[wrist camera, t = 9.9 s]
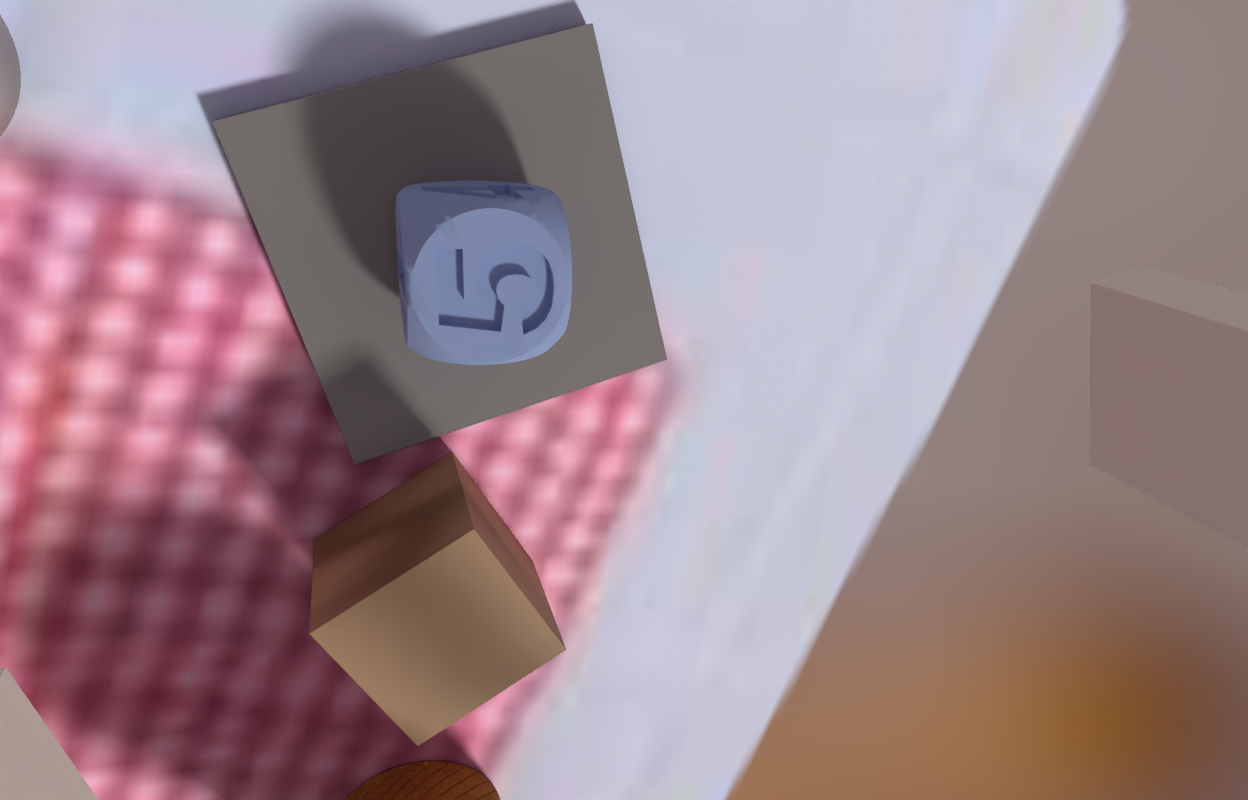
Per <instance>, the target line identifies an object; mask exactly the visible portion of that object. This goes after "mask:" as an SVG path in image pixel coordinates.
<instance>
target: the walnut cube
mask: <svg viewBox="0 0 1248 800" xmlns="http://www.w3.org/2000/svg"><path fill="white" fill-rule="evenodd" d="M309 634H310V635H311V636H312V637H313V638H314V639H315V640H316V641H317V642H318V643H319V644H320V645H321V647H322V648H323V649H324V650H325V651H326V652H327V653H328V654H329V655H330V656H331V657H332V658H333V659H334V660H335V661H336V662H337V663H338V664H339V665H340V666H341V667H342V668H343V669H344V670H345V671H346V672H347V674H348V675H349V676H350V677H351V678H352V679H353V680H354V681H355V682H356V683H357V684H358V685H359V686H360V687H361V688H362V689H363V690H364V691H365V692H366V693H367V694H368V695H369V696H370V697H371V698H372V699H373V701H374V702H375V703H376V704H377V705H378V706H379V707H380V708H381V709H382V710H383V711H384V712H385V713H386V714H387V715H388V716H389V717H390V718H391V719H392V720H393V721H394V722H395V723H396V724H397V725H398V726H399V728H400V729H401V730H402V731H403V732H404V733H405V734H406V735H407V736H408V737H409V738H410V739H411V740H412V741H413V742H414V743H415V744H416V745H417V746H419V745H421V744H422V743H424V742H425V741H427V740H428V739H430V738H431V737H433V736H434V735H436V734H437V733H439V732H441V731H442V730H444V729H445V728H447V727H448V726H450V725H451V724H453V723H454V722H456V721H457V720H459V719H460V718H462V717H464V716H465V715H467V714H468V713H470V712H471V711H473V710H474V709H476V708H477V707H479V706H480V705H482V704H484V703H485V702H487V701H488V700H490V699H491V698H493V697H494V696H496V695H497V694H499V693H500V692H502V691H503V690H505V689H507V688H508V687H510V686H511V685H513V684H514V683H516V682H517V681H519V680H520V679H522V678H523V677H525V676H526V675H528V674H530V673H531V672H533V671H534V670H536V669H537V668H539V667H540V666H542V665H543V664H545V663H546V662H548V661H549V660H551V659H553V658H554V657H556V656H557V655H559V654H560V653H562V652H563V651H565V650H566V648H565V645H564V643H563V640H562V638H561V635H560V632H559V630H558V627H557V624H556V622H555V619H554V616H553V614H552V611H551V609H550V606H549V603H548V601H547V598H546V595H545V593H544V590H543V587H542V585H541V582H540V579H539V577H538V574H537V572H536V569H535V566H534V564H533V561H532V559H531V558H530V557H529V555H528V554H527V553H526V551H525V550H524V549H523V547H522V546H521V545H520V543H519V542H518V540H517V539H516V538H515V536H514V535H513V534H512V532H511V531H510V530H509V528H508V527H507V526H506V524H505V523H504V521H503V520H502V519H501V517H500V516H499V515H498V513H497V512H496V511H495V509H494V508H493V506H492V505H491V504H490V502H489V501H488V500H487V498H486V497H485V496H484V494H483V493H482V492H481V490H480V489H479V487H478V486H477V485H476V483H475V482H474V481H473V479H472V478H471V477H470V475H469V474H468V473H467V471H466V470H465V468H464V467H463V466H462V464H461V463H460V462H459V460H458V459H457V458H456V456H455V455H454V453H453V452H451V453H450V454H448V455H446V456H445V457H443V458H442V459H440V460H438V461H437V462H435V463H434V464H432V465H430V466H429V467H427V468H426V469H424V470H423V471H421V472H419V473H418V474H416V475H415V476H413V477H411V478H410V479H408V480H407V481H405V482H403V483H402V484H400V485H399V486H397V487H396V488H394V489H392V490H391V491H389V492H388V493H386V494H384V495H383V496H381V497H380V498H378V499H376V500H375V501H373V502H372V503H370V504H368V505H367V506H365V507H364V508H362V509H361V510H359V511H357V512H356V513H354V514H353V515H351V516H349V517H348V518H346V519H345V520H343V521H341V522H340V523H338V524H337V525H335V526H334V527H332V528H330V529H329V530H327V531H326V532H324V533H322V534H321V535H319V536H318V537H316V538H314V548H313V569H312V590H311V611H310V631H309Z"/></svg>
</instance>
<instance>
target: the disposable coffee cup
mask: <svg viewBox="0 0 1248 800" xmlns="http://www.w3.org/2000/svg"><path fill="white" fill-rule="evenodd" d="M346 800H500V797H499V795H498V793H497V791H496V789H495V787H494V786H493V785H492V783H491V782H490V781H489V780H488V779H487V778H486V777H485V776H483V775H482V774H480V773H479V772H477V771H476V770H474V769H472V768H469V767H466V766H464V765H461V764H457V763H452V762H446V761H424V762H418V763H411V764H406V765H403V766H399V767H396V768H393V769H390V770H387V771H385V772H383V773H381V774H379V775H377V776H375V777H373V778H372V779H370V780H369V781H367V782H365V783H364V784H362V785H361V786H360V787H358V788H357V789H356V790H355V791H354V792H352V793H351V794H350V795H349V796H348V797H347V799H346Z"/></svg>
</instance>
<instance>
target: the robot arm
mask: <svg viewBox="0 0 1248 800" xmlns="http://www.w3.org/2000/svg"><path fill="white" fill-rule="evenodd" d="M1090 336H1091V337H1090V448H1089V449H1090V450H1089V459H1090V460H1089V465H1091V466H1092V467H1094V468H1096V469H1098V470H1100V471H1101V472H1103V473H1106V474H1107V475H1109V476H1111V477H1113V478H1114V479H1116V480H1118V481H1119V482H1121V483H1123V484H1125V485H1127V486H1129V487H1130V488H1132V489H1134V490H1136V491H1138V492H1139V493H1141V494H1143V495H1145V496H1147V497H1149V498H1150V499H1152V500H1154V501H1156V502H1157V503H1159V504H1161V505H1163V506H1165V507H1167V508H1169V509H1170V510H1172V511H1174V512H1176V513H1178V514H1179V515H1181V516H1183V517H1185V518H1187V519H1188V520H1190V521H1192V522H1194V523H1195V524H1197V525H1199V526H1201V527H1203V528H1205V529H1206V530H1208V531H1210V532H1212V533H1214V534H1215V535H1217V536H1219V537H1221V538H1223V539H1225V540H1226V541H1228V542H1230V543H1232V544H1234V545H1235V546H1237V547H1239V548H1241V549H1243V550H1244V551H1246V552H1248V294H1246V293H1243V292H1239V291H1235V290H1232V289H1228V288H1224V287H1220V286H1216V285H1213V284H1209V283H1206V282H1202V281H1198V280H1195V279H1191V278H1187V277H1183V276H1180V275H1176V274H1172V273H1169V272H1165V271H1161V270H1157V269H1154V268H1150V267H1146V266H1143V265H1139V266H1136V267H1133V268H1130V269H1127V270H1125V271H1122V272H1119V273H1116V274H1113V275H1111V276H1108V277H1105V278H1102V279H1099V280H1096V281H1094V282H1091V334H1090ZM0 800H98V799H97V797H96V796H95V794H94V793H93V791H92V790H91V788H90V787H89V786H88V784H87V783H86V781H85V780H84V778H83V777H82V776H81V774H80V773H79V771H78V770H77V768H76V767H75V766H74V764H73V763H72V761H71V760H70V758H69V757H68V756H67V754H66V753H65V751H64V750H63V748H62V747H61V746H60V744H59V743H58V741H57V740H56V738H55V737H54V736H53V734H52V733H51V731H50V730H49V728H48V727H47V726H46V724H45V723H44V721H43V720H42V718H41V717H40V716H39V714H38V713H37V711H36V710H35V708H34V707H33V706H32V704H31V703H30V701H29V700H28V698H27V697H26V696H25V694H24V693H23V691H22V690H21V688H20V687H19V686H18V684H17V683H16V681H15V680H14V678H13V677H12V676H11V674H10V673H9V671H8V670H7V668H6V667H5V668H2V669H0Z"/></svg>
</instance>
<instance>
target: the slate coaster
mask: <svg viewBox="0 0 1248 800" xmlns="http://www.w3.org/2000/svg"><path fill="white" fill-rule="evenodd" d="M212 123H213V125H214V127H215V130H216V132H217V135H218V137H219V139H220V142H221V144H222V147H223V149H224V151H225V154H226V156H227V159H228V161H229V163H230V166H231V168H232V171H233V173H234V176H235V178H236V180H237V183H238V185H239V188H240V190H241V192H242V195H243V197H244V200H245V202H246V204H247V207H248V209H249V212H250V214H251V216H252V219H253V221H254V224H255V226H256V228H257V231H258V233H259V236H260V238H261V240H262V243H263V245H264V248H265V250H266V252H267V255H268V257H269V260H270V262H271V265H272V267H273V269H274V272H275V274H276V277H277V279H278V281H279V284H280V286H281V289H282V291H283V293H284V296H285V298H286V301H287V303H288V305H289V308H290V310H291V313H292V315H293V317H294V320H295V322H296V325H297V327H298V329H299V332H300V334H301V337H302V339H303V342H304V344H305V346H306V349H307V351H308V354H309V356H310V358H311V361H312V363H313V366H314V368H315V370H316V373H317V375H318V378H319V380H320V382H321V385H322V387H323V390H324V392H325V394H326V397H327V399H328V402H329V404H330V406H331V409H332V411H333V414H334V416H335V418H336V421H337V423H338V426H339V428H340V431H341V433H342V435H343V438H344V440H345V443H346V445H347V447H348V450H349V452H350V455H351V457H352V459H353V462H354V464H358V463H361V462H364V461H367V460H370V459H373V458H376V457H379V456H382V455H385V454H388V453H391V452H394V451H397V450H400V449H403V448H406V447H409V446H412V445H414V444H417V443H420V442H423V441H426V440H429V439H432V438H435V437H438V436H441V435H444V434H447V433H450V432H453V431H456V430H459V429H462V428H465V427H468V426H471V425H474V424H477V423H480V422H483V421H486V420H489V419H492V418H495V417H498V416H501V415H504V414H507V413H510V412H513V411H516V410H519V409H522V408H524V407H527V406H530V405H533V404H536V403H539V402H542V401H545V400H548V399H551V398H554V397H557V396H560V395H563V394H566V393H569V392H572V391H575V390H578V389H581V388H584V387H587V386H590V385H593V384H596V383H599V382H602V381H605V380H608V379H611V378H614V377H617V376H620V375H623V374H626V373H629V372H631V371H634V370H637V369H640V368H643V367H646V366H649V365H652V364H655V363H658V362H661V361H664V360H667V358H666V354H665V349H664V345H663V340H662V336H661V331H660V327H659V322H658V317H657V313H656V308H655V304H654V299H653V295H652V290H651V286H650V281H649V277H648V272H647V268H646V263H645V259H644V254H643V250H642V245H641V241H640V236H639V232H638V227H637V223H636V218H635V213H634V209H633V204H632V200H631V195H630V191H629V186H628V182H627V177H626V173H625V168H624V164H623V159H622V155H621V150H620V146H619V141H618V137H617V132H616V128H615V123H614V119H613V114H612V110H611V105H610V100H609V96H608V91H607V87H606V82H605V78H604V73H603V69H602V64H601V60H600V55H599V51H598V46H597V42H596V37H595V33H594V28H593V24H585V25H581V26H577V27H573V28H569V29H565V30H561V31H558V32H554V33H550V34H546V35H542V36H538V37H534V38H531V39H527V40H523V41H519V42H515V43H511V44H507V45H504V46H500V47H496V48H492V49H488V50H484V51H480V52H476V53H473V54H469V55H465V56H461V57H457V58H453V59H449V60H446V61H442V62H438V63H434V64H430V65H426V66H422V67H418V68H415V69H411V70H407V71H403V72H399V73H395V74H391V75H388V76H384V77H380V78H376V79H372V80H368V81H364V82H360V83H357V84H353V85H349V86H345V87H341V88H337V89H333V90H330V91H326V92H322V93H318V94H314V95H310V96H306V97H302V98H299V99H295V100H291V101H287V102H283V103H279V104H275V105H272V106H268V107H264V108H260V109H256V110H252V111H248V112H244V113H241V114H237V115H233V116H229V117H225V118H221V119H217V120H215V121H213V122H212ZM460 180H476V181H501V182H514V183H523V184H530V185H536V186H541V187H545V188H548V189H550V190H552V191H553V192H554V193H555V194H556V195H557V196H558V197H559V199H560V201H561V203H562V205H563V208H564V211H565V215H566V219H567V224H568V230H569V237H570V245H571V258H572V297H571V308H570V315H569V320H568V324H567V328H566V330H565V332H564V334H563V335H562V337H561V338H560V339H559V340H558V341H557V342H556V343H555V344H554V345H553V346H552V347H551V348H550V349H549V350H548V351H546V352H545V353H543V354H541V355H539V356H536V357H534V358H530V359H527V360H523V361H518V362H512V363H505V364H493V365H465V364H454V363H446V362H441V361H436V360H432V359H429V358H426V357H423V356H421V355H419V354H417V353H416V352H414V351H413V350H412V349H411V348H409V347H408V346H407V345H406V343H405V338H404V331H403V323H402V314H401V304H400V292H399V279H398V263H397V245H396V214H395V207H396V195H397V194H398V193H399V192H400V191H401V189H402V188H404V187H406V186H409V185H413V184H419V183H426V182H437V181H460Z"/></svg>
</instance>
